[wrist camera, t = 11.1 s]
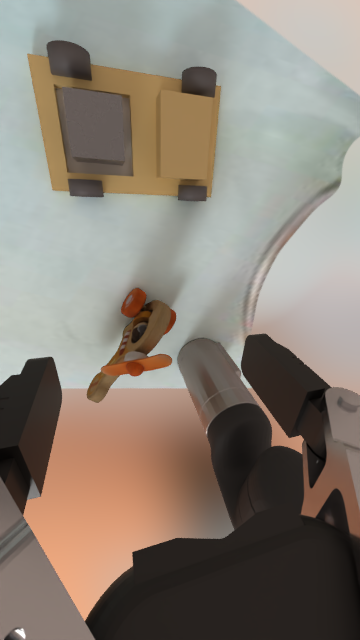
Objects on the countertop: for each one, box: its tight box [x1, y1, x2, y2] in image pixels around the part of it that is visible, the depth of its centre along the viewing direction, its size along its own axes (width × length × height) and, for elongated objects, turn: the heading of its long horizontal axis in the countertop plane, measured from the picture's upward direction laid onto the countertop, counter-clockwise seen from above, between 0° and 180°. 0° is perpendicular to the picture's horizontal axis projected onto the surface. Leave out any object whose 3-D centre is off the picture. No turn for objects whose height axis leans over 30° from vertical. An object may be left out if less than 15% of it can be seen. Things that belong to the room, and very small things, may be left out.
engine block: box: [62, 87, 125, 166], centre depth 27 cm, size 6×6×6 cm
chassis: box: [27, 41, 221, 201], centre depth 28 cm, size 21×13×4 cm, turn 87°
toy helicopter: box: [87, 288, 176, 403], centre depth 37 cm, size 8×21×14 cm, turn 139°
